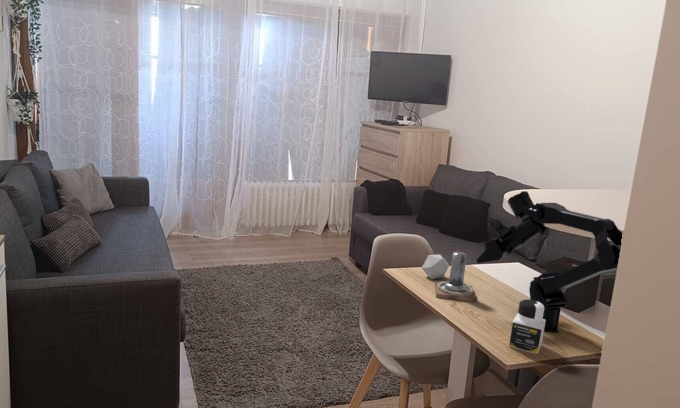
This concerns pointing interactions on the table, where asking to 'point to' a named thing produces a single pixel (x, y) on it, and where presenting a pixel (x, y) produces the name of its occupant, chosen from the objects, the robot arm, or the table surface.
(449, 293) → the board
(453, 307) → the table surface
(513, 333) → the medicine bottle
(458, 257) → the silver round peg
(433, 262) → the die
